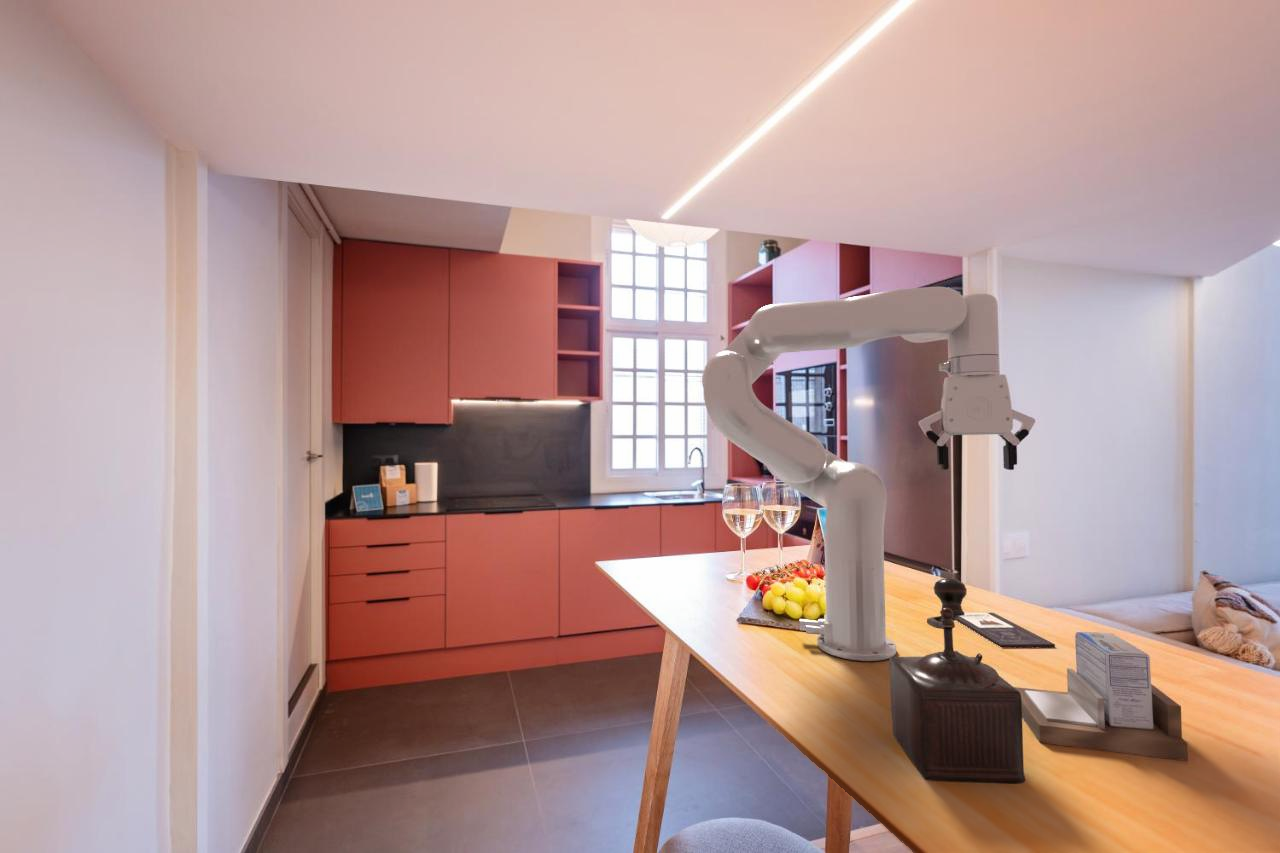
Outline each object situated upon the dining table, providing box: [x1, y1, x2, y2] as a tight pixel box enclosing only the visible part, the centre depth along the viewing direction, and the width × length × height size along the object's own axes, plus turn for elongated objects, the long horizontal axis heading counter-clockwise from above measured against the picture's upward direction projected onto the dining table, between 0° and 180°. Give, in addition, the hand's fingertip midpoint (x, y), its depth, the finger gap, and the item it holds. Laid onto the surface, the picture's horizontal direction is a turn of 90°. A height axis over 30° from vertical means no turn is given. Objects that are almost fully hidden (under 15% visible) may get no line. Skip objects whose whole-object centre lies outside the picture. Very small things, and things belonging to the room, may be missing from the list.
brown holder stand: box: [1013, 668, 1189, 762], centre depth 71 cm, size 14×11×6 cm
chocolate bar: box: [955, 612, 1056, 649], centre depth 107 cm, size 9×1×18 cm
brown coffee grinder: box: [889, 577, 1026, 784], centre depth 68 cm, size 16×11×18 cm
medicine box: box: [1074, 631, 1154, 730], centre depth 71 cm, size 8×4×9 cm, turn 166°
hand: (976, 469), depth 98 cm, fingers open, 9 cm apart
